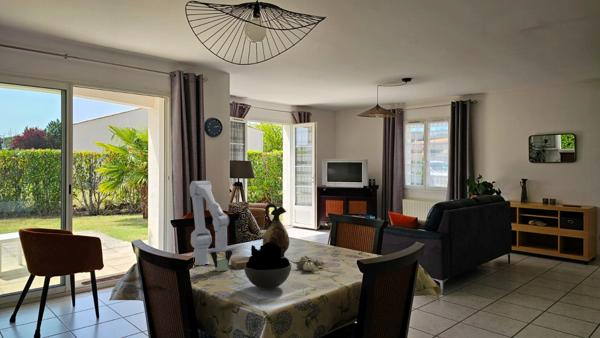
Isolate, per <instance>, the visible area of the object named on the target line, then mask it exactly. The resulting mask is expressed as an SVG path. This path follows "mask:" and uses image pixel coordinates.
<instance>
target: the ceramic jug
mask: <svg viewBox="0 0 600 338" xmlns="http://www.w3.org/2000/svg"><path fill="white" fill-rule="evenodd" d="M270 208H273V209H272V211H271V212H270V214H269V209H270ZM264 211H265V216H266V219H267V225H266V230H265V232H264V234H263V237H262V245H264V244H265V243H268V242H270V243H273V244H275V245H277V246H280V247H281V252H280V253H281V257H280V258H284V257H285V253H286V252H288V251H287V250H288V249H289V246H290V236H289V234H288V231H287V229H286V228H285V226H284V224H283V223H282V221H281V219H280V216H281V215H283V214H285V213H287V210H286V209H285V208H284V207H283V206H282V205H281V206H279V207H277V205H276V204H274V203H267V204H266V206H265V208H264ZM270 215H272V216H273V217H272V219H271V216H270Z"/></svg>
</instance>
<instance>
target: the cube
mask: <svg viewBox="0 0 600 338" xmlns="http://www.w3.org/2000/svg"><path fill="white" fill-rule="evenodd" d="M228 267H229V264H228V260H227V259H226V257H219V258H217V268H215V267H214V268H215V271H217V272H224V271H228V270H229V268H228Z"/></svg>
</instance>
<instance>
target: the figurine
mask: <svg viewBox="0 0 600 338" xmlns="http://www.w3.org/2000/svg"><path fill="white" fill-rule="evenodd" d="M288 260H289V259H288ZM289 262H290V263H291V264H292V263H293V264H295V265H296V266H297V268H300V269H302V270H303V271H308V272H310V271H311V272H312V273H313V272H321V271H322V268H321V267H323V268H327V269H329V268H330V267H329V264H330V263H327V262H324V261H322V260H318V259H314V258H312V257H309V256H308V255H307V254H306V255H304V256H301V257H300V260H298V261H293V260H289ZM325 264H328V265H327V266H325Z"/></svg>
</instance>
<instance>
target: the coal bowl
mask: <svg viewBox="0 0 600 338" xmlns="http://www.w3.org/2000/svg"><path fill="white" fill-rule="evenodd" d="M259 247H260V248H259V249H258V248H256V246H255V245H253V244H252V245H251V247H250V255H249V257H250V258H249V261H248V262H247V263H246V264H245V265H244V268H243V270H244V273H245V276H246V278H247V279H248V281H249V283H251V284H252V285H253V286H255V287H257V288H260V289H262V290H272V289H275V288H278V287H280V286H281V285H283V284H284V283H285V282H286V281H287V279H288V278H289V277H290V274H291V270H292V262H291V261H289V259H288V258H287V257H286V256H284V257H281V253H280V252H281V247H280V246H277V245H275V244H273V243H270V242H268V243H265V244H264V245H263V244H262V245H260V246H259Z"/></svg>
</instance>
